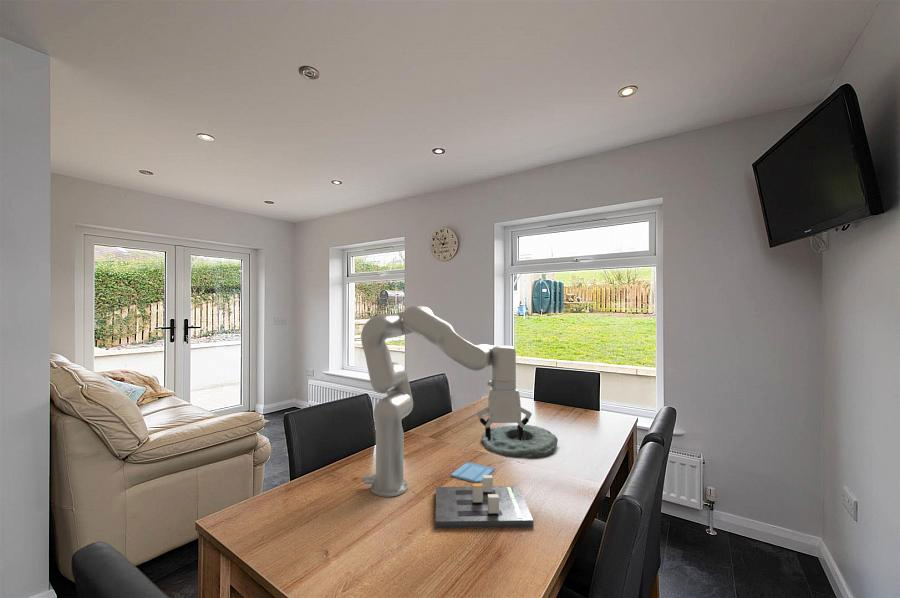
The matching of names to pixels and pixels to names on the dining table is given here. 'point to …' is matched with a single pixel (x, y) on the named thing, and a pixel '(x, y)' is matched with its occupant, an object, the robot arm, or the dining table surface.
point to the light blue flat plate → (472, 472)
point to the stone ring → (521, 442)
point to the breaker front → (493, 503)
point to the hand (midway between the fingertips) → (504, 439)
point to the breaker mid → (477, 492)
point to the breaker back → (487, 483)
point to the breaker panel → (481, 509)
